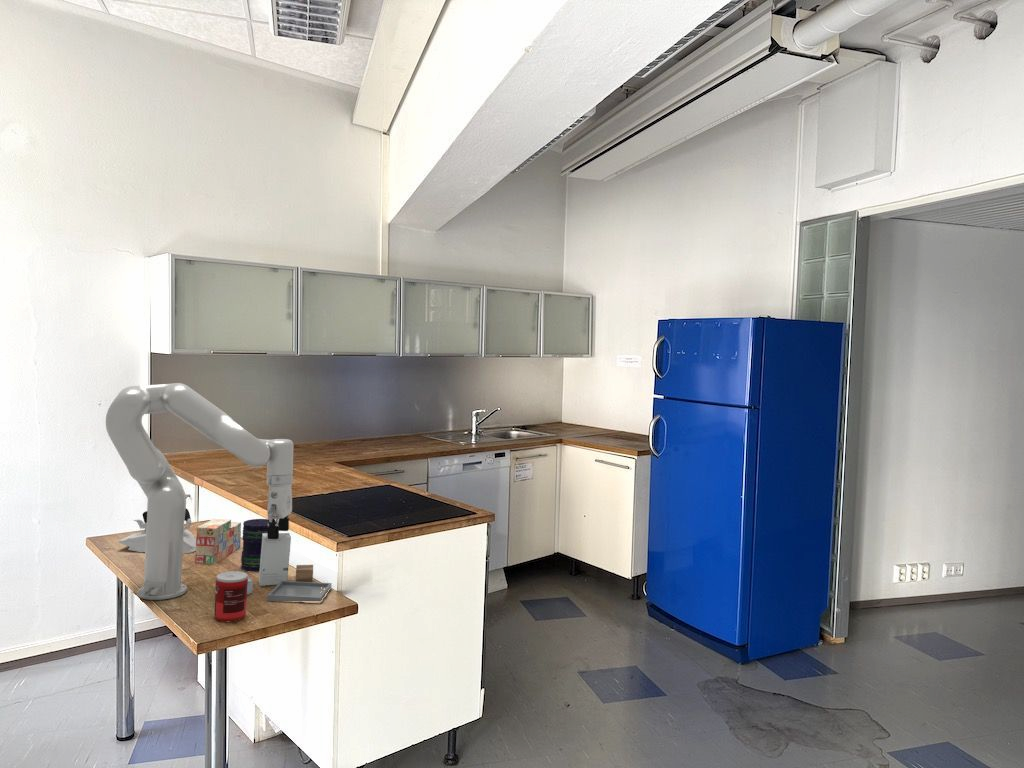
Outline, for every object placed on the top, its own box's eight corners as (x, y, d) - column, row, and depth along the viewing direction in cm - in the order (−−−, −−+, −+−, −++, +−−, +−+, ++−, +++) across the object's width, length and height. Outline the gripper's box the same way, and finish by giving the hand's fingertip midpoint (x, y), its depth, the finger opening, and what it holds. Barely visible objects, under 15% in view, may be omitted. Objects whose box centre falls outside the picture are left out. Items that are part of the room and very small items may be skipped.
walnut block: (312, 585, 205) (313, 569, 205) (295, 586, 203) (296, 569, 203) (312, 580, 210) (313, 564, 210) (295, 580, 208) (296, 565, 208)
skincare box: (259, 586, 201) (262, 537, 201) (258, 580, 206) (261, 532, 206) (288, 584, 204) (291, 536, 204) (286, 578, 210) (289, 531, 209)
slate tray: (320, 604, 189) (320, 597, 189) (266, 601, 189) (267, 595, 189) (331, 589, 202) (331, 583, 202) (281, 586, 202) (281, 580, 202)
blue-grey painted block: (251, 594, 195) (252, 580, 195) (238, 596, 192) (239, 583, 192) (240, 586, 200) (241, 573, 200) (227, 589, 197) (227, 575, 197)
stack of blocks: (223, 546, 241) (225, 512, 241) (240, 547, 241) (242, 513, 240) (194, 563, 219) (196, 526, 219) (213, 564, 219) (215, 527, 219)
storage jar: (275, 570, 217) (278, 524, 217) (243, 573, 212) (246, 526, 212) (269, 561, 226) (271, 517, 225) (238, 564, 221) (240, 519, 220)
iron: (134, 543, 238) (136, 502, 237) (203, 547, 239) (205, 505, 239) (117, 552, 227) (120, 508, 227) (190, 555, 228) (192, 511, 228)
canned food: (227, 609, 181) (229, 569, 181) (252, 614, 179) (254, 573, 179) (207, 619, 174) (209, 577, 173) (232, 624, 171) (234, 581, 171)
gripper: (283, 484, 196) (281, 542, 197) (300, 475, 214) (298, 528, 214) (257, 484, 196) (256, 541, 197) (276, 474, 213) (275, 527, 214)
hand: (278, 534), depth 205 cm, fingers open, 9 cm apart
